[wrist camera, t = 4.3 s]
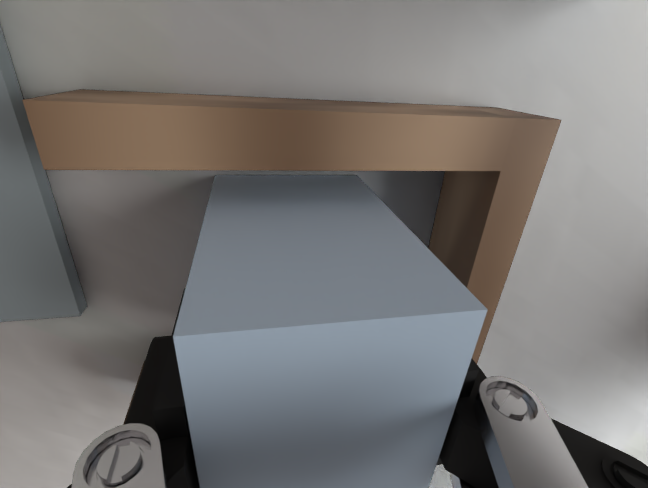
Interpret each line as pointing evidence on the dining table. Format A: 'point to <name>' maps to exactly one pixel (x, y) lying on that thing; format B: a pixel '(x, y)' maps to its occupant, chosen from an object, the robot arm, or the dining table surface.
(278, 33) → the dining table surface
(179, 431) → the robot arm
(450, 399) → the block
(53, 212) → the rubber mat
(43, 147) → the frame
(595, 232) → the dining table surface
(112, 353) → the dining table surface
